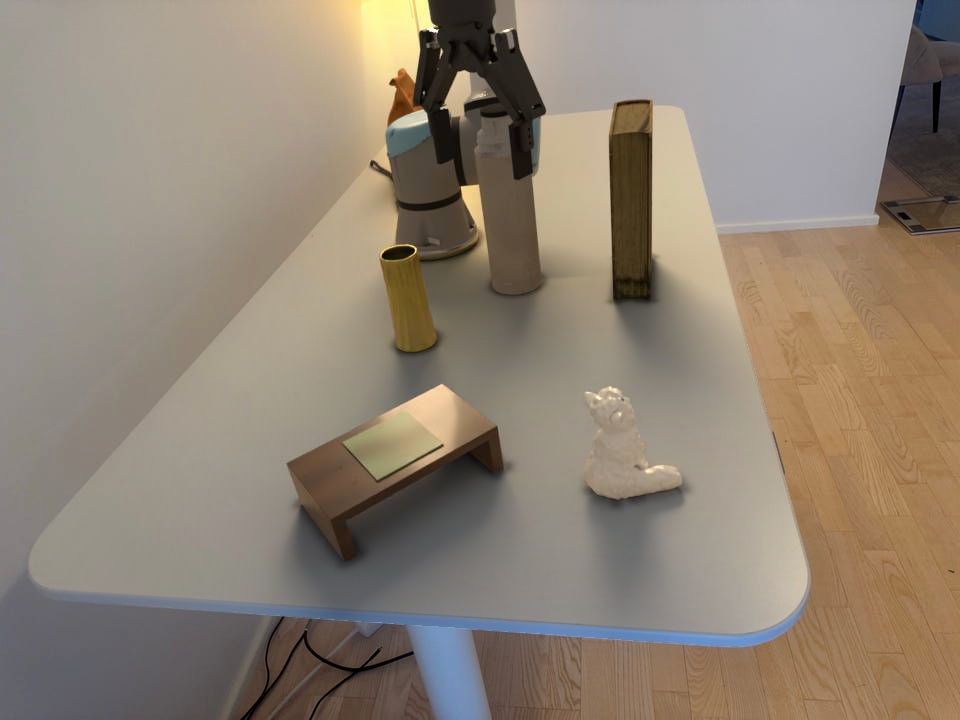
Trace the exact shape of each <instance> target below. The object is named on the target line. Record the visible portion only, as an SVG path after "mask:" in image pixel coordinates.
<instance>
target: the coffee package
mask: <svg viewBox="0 0 960 720" xmlns="http://www.w3.org/2000/svg"><path fill="white" fill-rule="evenodd" d="M388 86H391V87H394V88H395V92H394V98H393V102H392V105H391V108H390V110H389V114H388V117H387V125H386V126H387V127H386V129H387V128H388V127H389V126H390V124H392V123H393V122H394V121H396V120H397V119H399V118H401V117H403V116H405V115H408V114H411V113H413V112H416V111H420V110H423V107H421V106H415V105H414V103H413V95H414V88H415V81H414V79H413V78H412V77H411V76H410V74H409V73H408V72H407V71H406V69H405V68H404V67H401V68H400V69H398V71H397V76H396V77H392V78H391V79H390V81H389V83H388Z"/></svg>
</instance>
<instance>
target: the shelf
mask: <svg viewBox="0 0 960 720" xmlns="http://www.w3.org/2000/svg"><path fill="white" fill-rule="evenodd" d="M467 453H469V454H470V455H472V456H473V457H474V458H475V459H476V460H478V461H479V462H480V463H481V464H482V465H483V466H484V467H486V468H487V469H488V470H489V471H491V472H492V473H493V474H495V473H497V472H498V471H500V470H502V469H503V468H505V466H504V460H503V453H502V446H501V440H500V433H499V426H498V424H496V423H494V421H492V420H491V419H489V418H488V417H486V416H485V415H484V414H482V413H481V412H480V411H478V410H477V409H476V408H475V407H474V406H472V405H471V404H470V403H468V402H467V401H466V400H465V399H463V398H462V397H460V395H458V394H456V392H454V391H453V390H452V389H450V388H449V387H447V385H445V384H444V383H441V384H439V385H437V386H435V387H433V388H431V389H429V390H427V391H425V392H423V393H421V394H419V395H417V396H415V397H413V398H412V399H409V400H407V401H406V402H403V403H402V404H400V405H397V406H395V407H394V408H392V409H390V410H387V411H386V412H384V413H382V414H380V415H378V416H376V417H374V418H373V419H370V420H369V421H366V422H365V423H363V424H360V425H359V426H356V427H354V428H352V429H351V430H348V431H347V432H344V433H343V434H341V435H339V436H336V437H335V438H333V439H331V440H329V441H327V442H325V443H323V444H321V445H319V446H317V447H315V448H313V449H311V450H309V451H307V452H305V453H303V454H301V455H300V456H297V457H296V458H294V459H291V460H290V461H287V462H286V467H287V469H288V472H289V476H290V478H291V480H292V483H293V486H294V489H295V491H296V494H297V496H298V499H299V502H300V504H301V506H302V507H303V508H304V509H305V511H306V512H307V514H308V515H309V516H310V518H311V519H312V520H313V522H314V523H315V524H316V526H317V527H318V528H319V530H320V531H321V532H322V534H323V536H325V538H326V539H327V541H328V542H329V544H331V546H332V547H333V548H334V550H335V551H336V553H337V554H338V555H339V557H340V558H341V559H342V561H343V562H345V563H346V562H347V561H349V560H350V559H352V558H354V557H356V556H357V550H356V548H355V545H354V542H353V539H352V536H351V533H350V529H349V527H348V523H347V521H349V520H351V519H353V518H354V517H356V516H358V515H359V514H361V513H363V512H364V511H366V510H368V509H370V508H372V507H373V506H375V505H377V504H379V503H381V502H382V501H385V500H386V499H387V498H389V497H391V496H393V495H394V494H397V493H398V492H400V491H402V490H403V489H406V488H407V487H409V486H411V485H412V484H414V483H415V482H417V481H419V480H422V479H423V478H425V477H426V476H428V475H430V474H431V473H433V472H435V471H437V470H438V469H441V468H443V467H444V466H446V465H447V464H449V463H451V462H452V461H455V460H456V459H458V458H459V457H461V456H464V455H465V454H467Z"/></svg>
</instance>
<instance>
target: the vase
mask: <svg viewBox="0 0 960 720" xmlns="http://www.w3.org/2000/svg"><path fill="white" fill-rule="evenodd" d="M378 256H379V263H380V268H381V271H382V277H383V281H384V284H385V290H386V293H387V300H388V305H389V309H390V315H391V316H390V317H391V321H392V327H393V331H394V336H395V346H396V348H397V349H398V350H400V351H402V352H406V353H418V352H422V351H425V350H428V349H430V348H431V347H432V346H434V344H435V343H436V341H437V340H438V335H437V332H436V329H435V325H434V321H433V316H432V312H431V308H430V304H429V300H428V295H427V289H426V286H425V281H424V276H423V272H422V266H421V262H420V261H421V260H419V256H418V252H417V249H416V248H415V247H414V246H412V245H396V244H395V245H392V246H389V247H387V248H385V249H383V250H382V251H380V253H379V255H378Z"/></svg>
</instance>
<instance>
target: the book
mask: <svg viewBox="0 0 960 720" xmlns="http://www.w3.org/2000/svg"><path fill="white" fill-rule="evenodd" d="M653 106H654V101H653V100H652V99H643V98H642V99H637V98H636V99H627V100H621V101H617V102H615V103H613V109H612V114H611V121H610V126H609V131H608V165H609V166H608V167H609V168H608V169H609V201H610V202H609V203H610V205H609V206H610V237H611V238H610V239H611V268H612V269H611V271H612V276H611V277H612V299H613V301H617V300H620V299H623V298H641V299H645V300H652V269H653V267H652V265H653V263H652V262H653V258H652V257H653V137H654V136H653V133H654V132H653V130H654V127H653V125H654V123H653V121H654V119H653V115H654V113H653V112H654V109H653V108H654V107H653Z"/></svg>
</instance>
